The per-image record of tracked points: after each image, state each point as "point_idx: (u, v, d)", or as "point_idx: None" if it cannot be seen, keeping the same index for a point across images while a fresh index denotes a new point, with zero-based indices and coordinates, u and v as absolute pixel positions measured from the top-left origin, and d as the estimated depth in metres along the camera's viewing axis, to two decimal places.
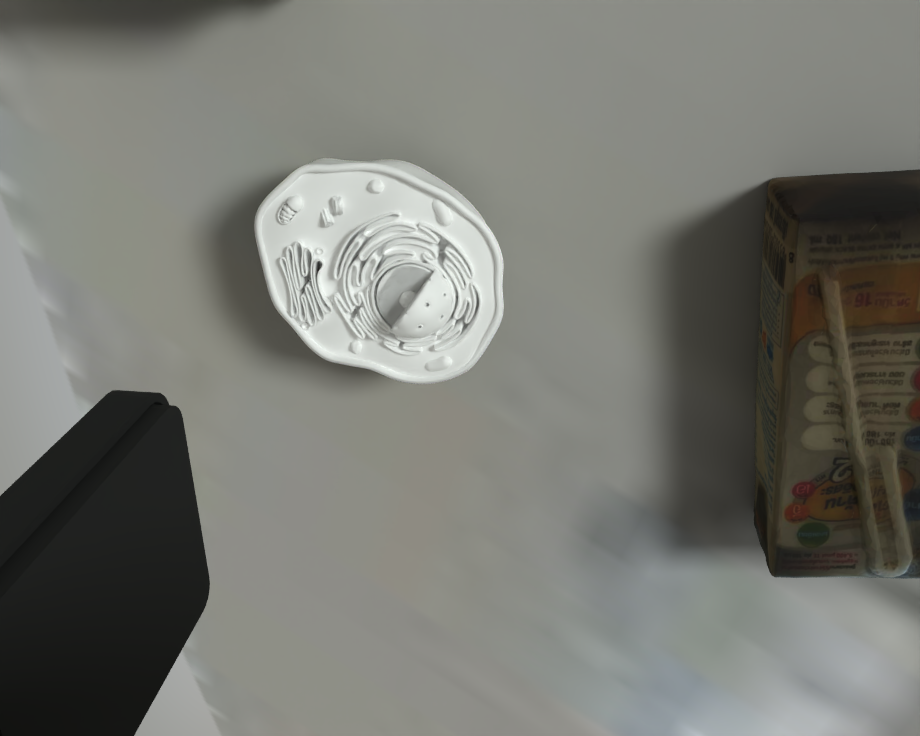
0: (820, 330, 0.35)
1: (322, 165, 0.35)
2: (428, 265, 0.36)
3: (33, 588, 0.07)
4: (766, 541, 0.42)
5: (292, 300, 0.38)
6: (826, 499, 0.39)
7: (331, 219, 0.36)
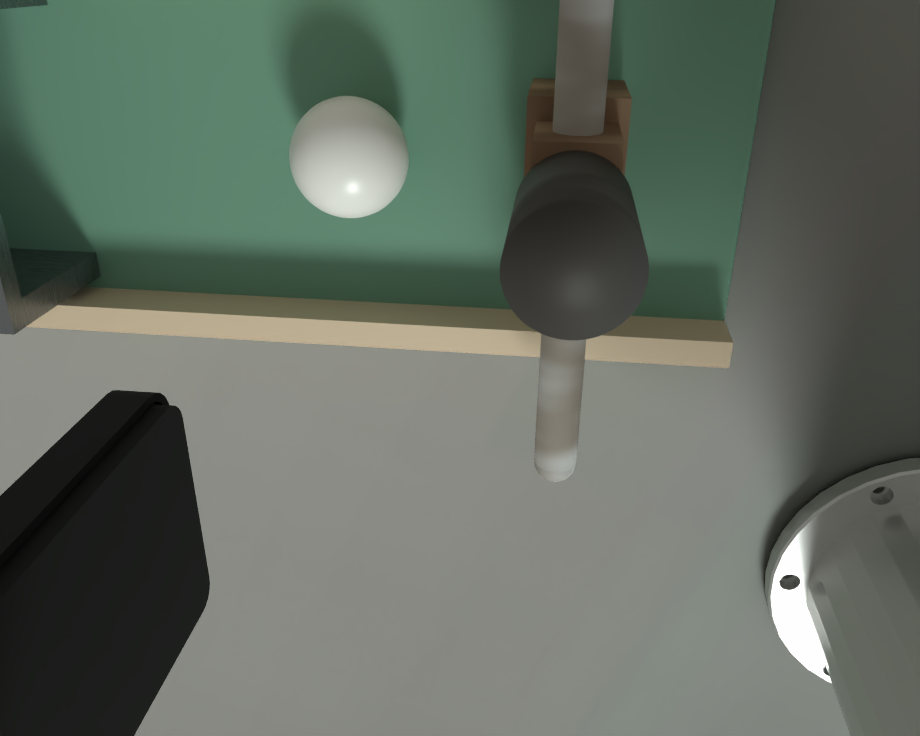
0: None
1: None
2: None
3: (33, 588, 0.07)
4: None
5: None
6: None
7: None
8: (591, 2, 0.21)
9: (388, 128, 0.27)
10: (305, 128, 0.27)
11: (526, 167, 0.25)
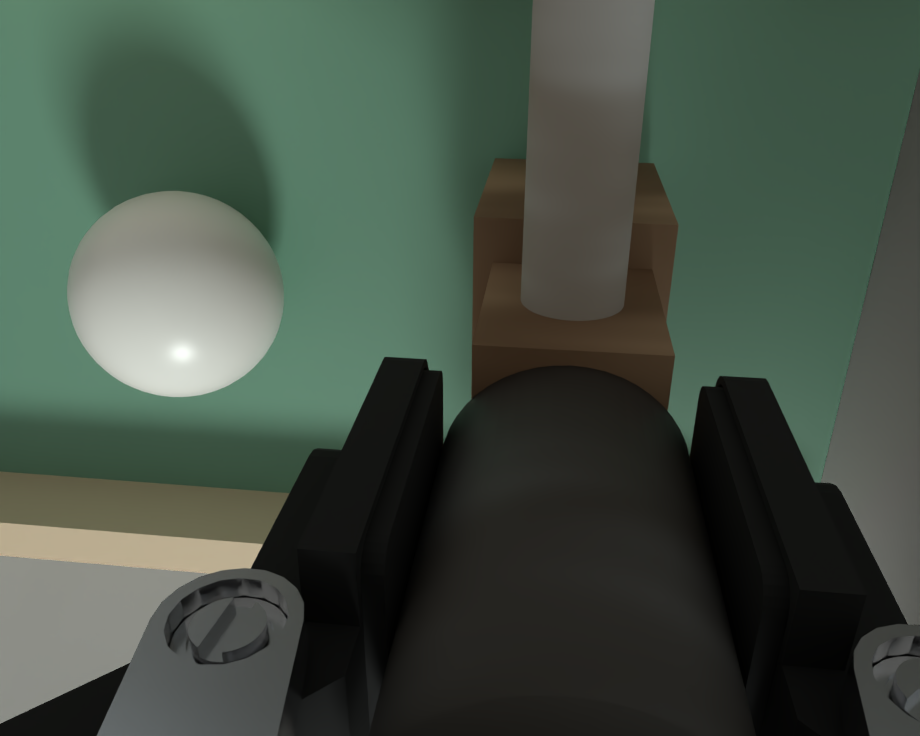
0: None
1: None
2: None
3: (400, 523, 0.08)
4: None
5: None
6: None
7: None
8: (600, 45, 0.09)
9: (234, 254, 0.15)
10: (84, 256, 0.15)
11: None
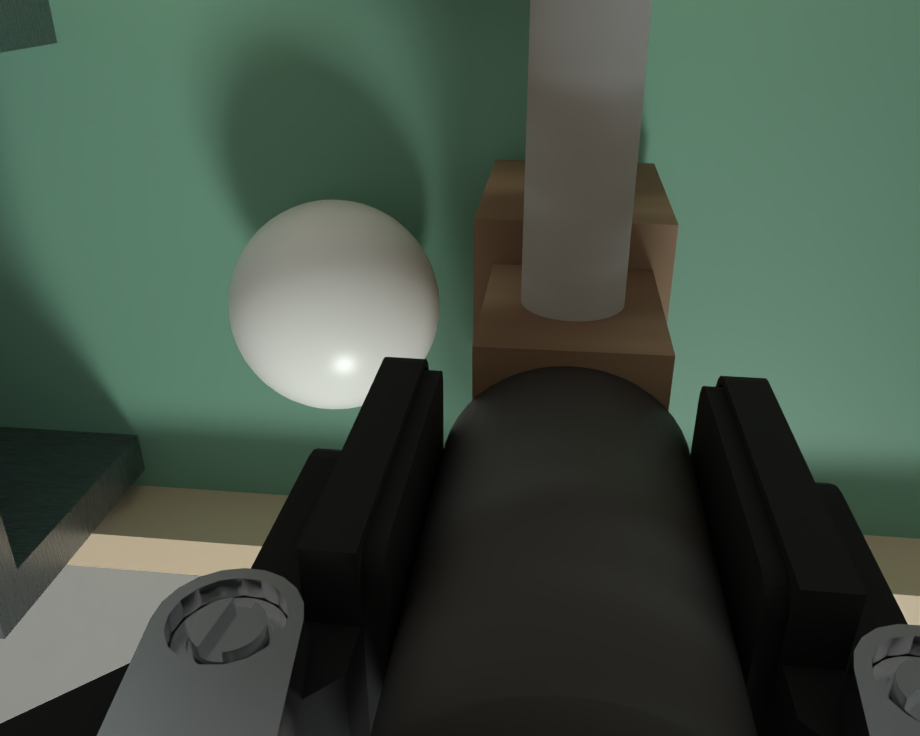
0: None
1: None
2: None
3: (400, 523, 0.08)
4: None
5: None
6: None
7: None
8: (597, 47, 0.09)
9: None
10: None
11: None
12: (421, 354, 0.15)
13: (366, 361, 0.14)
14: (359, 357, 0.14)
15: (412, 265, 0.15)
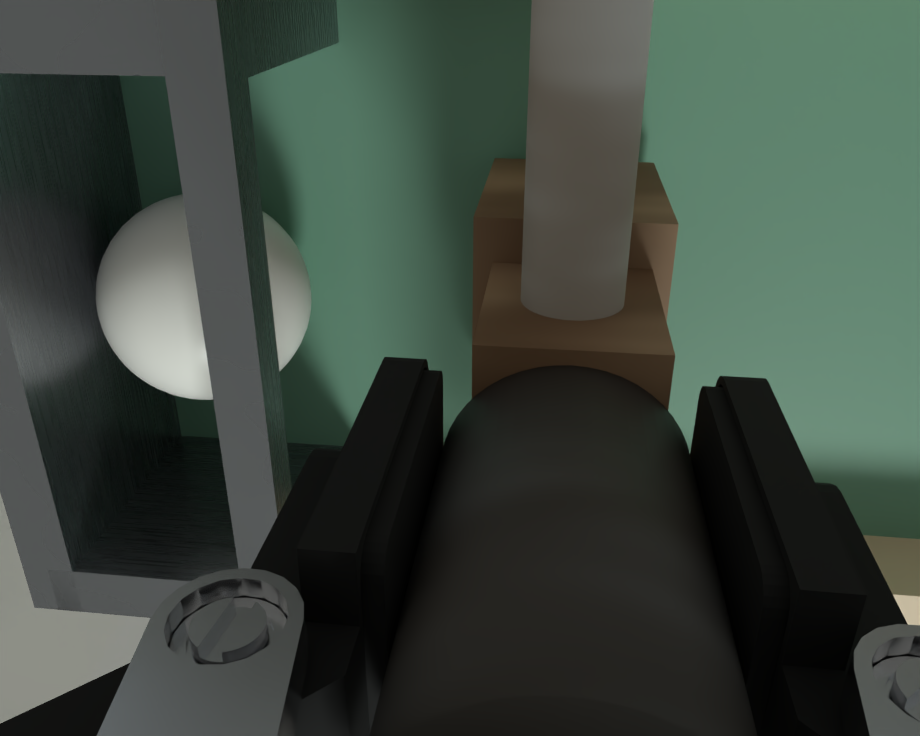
0: None
1: None
2: None
3: (400, 523, 0.08)
4: None
5: None
6: None
7: None
8: (600, 45, 0.09)
9: None
10: (108, 248, 0.15)
11: None
12: None
13: None
14: None
15: None
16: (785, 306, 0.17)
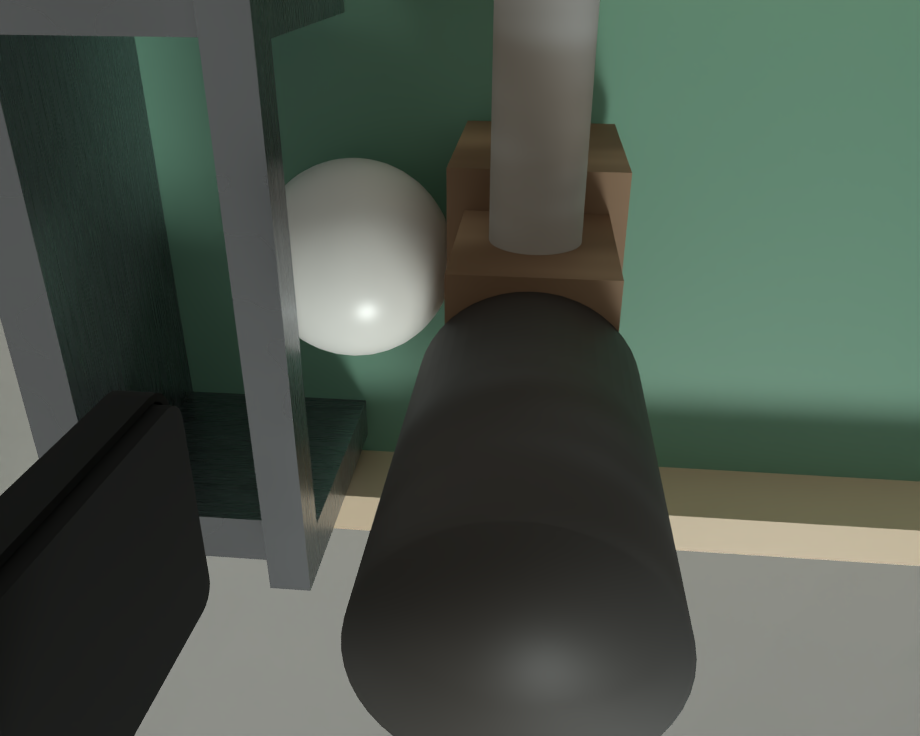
0: None
1: None
2: None
3: (35, 587, 0.07)
4: None
5: None
6: None
7: None
8: (554, 3, 0.10)
9: (426, 193, 0.17)
10: (358, 227, 0.15)
11: None
12: None
13: None
14: None
15: None
16: (761, 260, 0.18)
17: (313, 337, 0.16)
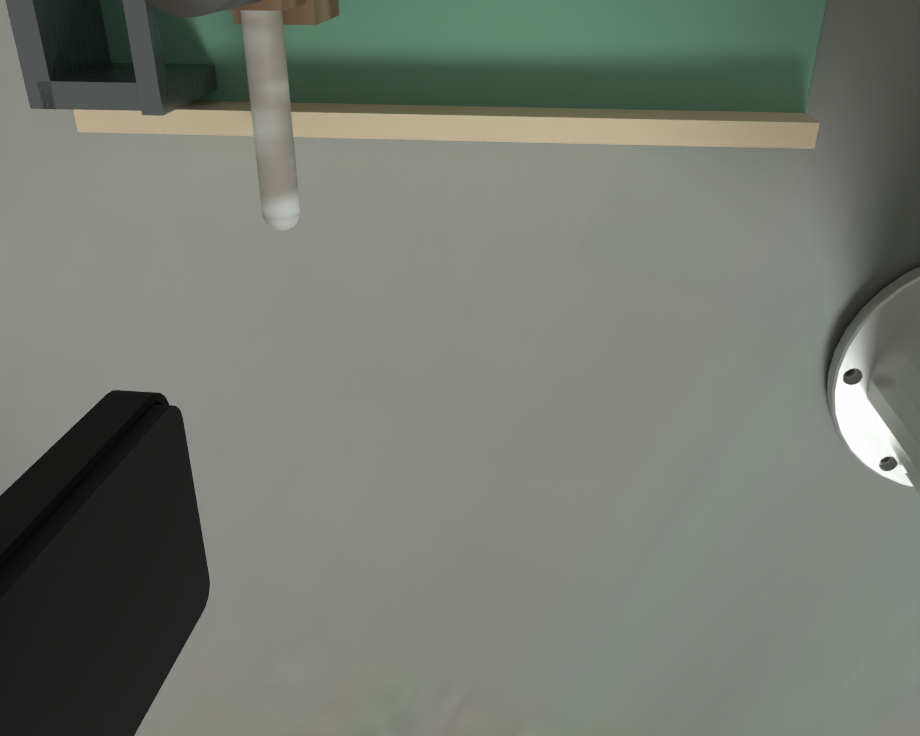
0: None
1: None
2: None
3: (33, 588, 0.07)
4: None
5: None
6: None
7: None
8: None
9: None
10: None
11: None
12: None
13: None
14: None
15: None
16: None
17: None
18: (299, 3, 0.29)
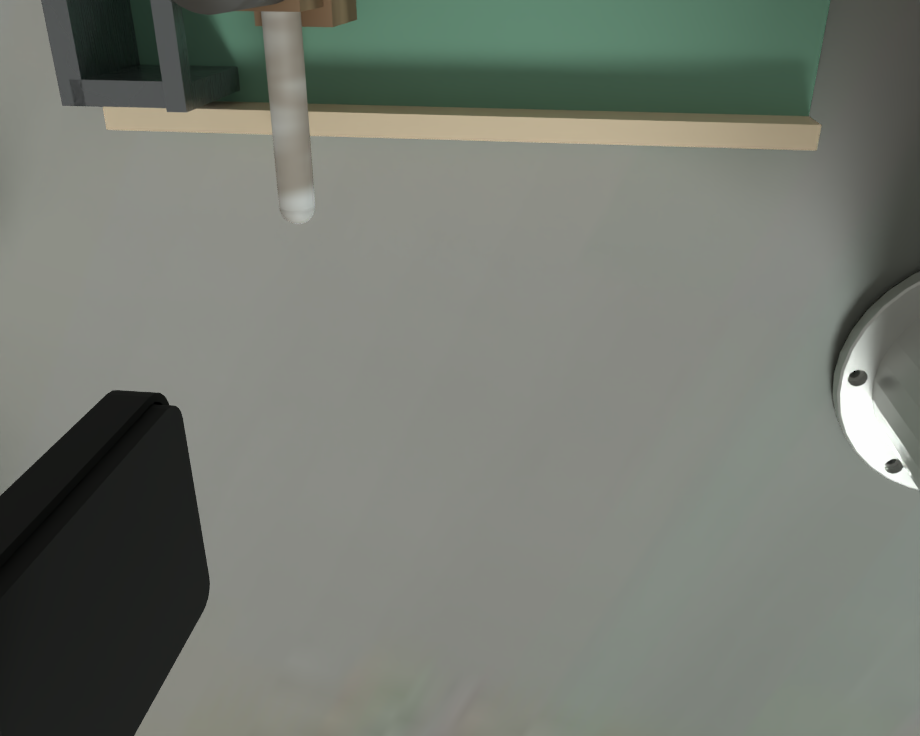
0: None
1: None
2: None
3: (33, 588, 0.07)
4: None
5: None
6: None
7: None
8: None
9: None
10: None
11: None
12: None
13: None
14: None
15: None
16: None
17: None
18: (317, 6, 0.30)
